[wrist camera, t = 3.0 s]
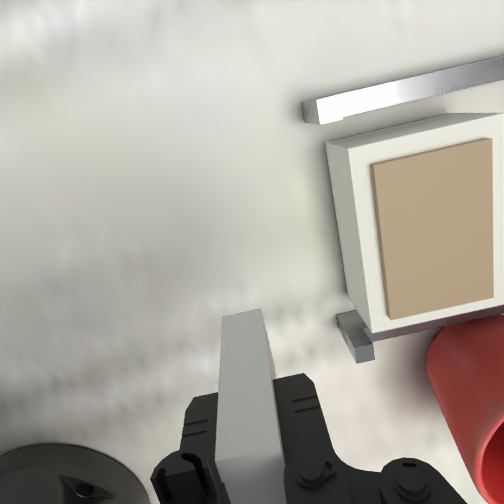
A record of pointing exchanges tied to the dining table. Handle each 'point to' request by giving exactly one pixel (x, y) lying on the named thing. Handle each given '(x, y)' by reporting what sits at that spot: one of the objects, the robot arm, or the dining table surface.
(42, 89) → the dining table surface
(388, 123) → the dining table surface
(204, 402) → the robot arm
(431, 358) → the flower pot
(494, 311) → the rail channel
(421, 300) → the block
